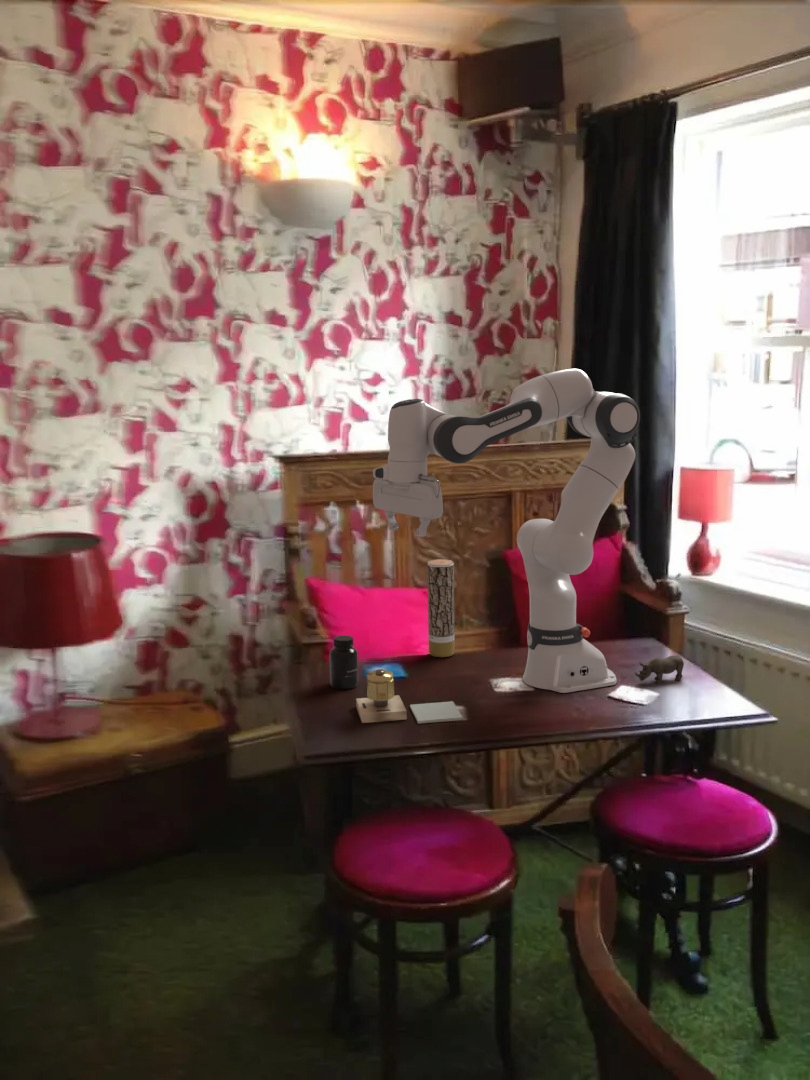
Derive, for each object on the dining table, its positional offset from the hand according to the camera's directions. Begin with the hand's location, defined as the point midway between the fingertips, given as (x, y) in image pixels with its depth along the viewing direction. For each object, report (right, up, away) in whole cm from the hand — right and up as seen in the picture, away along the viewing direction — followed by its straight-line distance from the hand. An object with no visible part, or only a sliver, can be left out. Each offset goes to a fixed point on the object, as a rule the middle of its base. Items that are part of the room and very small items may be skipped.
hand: (407, 533), depth 230 cm
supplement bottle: (-15, -37, +17) cm, 44 cm away
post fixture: (-6, -41, -1) cm, 41 cm away
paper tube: (+9, -32, +39) cm, 51 cm away
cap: (-6, -37, -2) cm, 37 cm away
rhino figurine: (+61, -36, +16) cm, 73 cm away
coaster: (+6, -40, -2) cm, 41 cm away
